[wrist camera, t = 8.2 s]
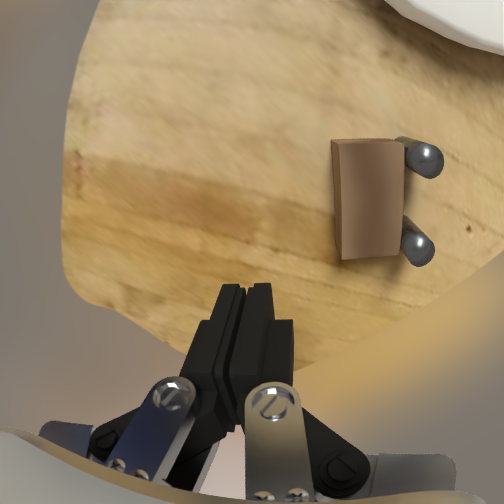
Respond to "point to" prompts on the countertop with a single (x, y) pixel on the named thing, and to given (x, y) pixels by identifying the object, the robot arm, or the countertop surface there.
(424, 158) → the bench dogs
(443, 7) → the white thick disc
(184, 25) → the countertop surface
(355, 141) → the block
